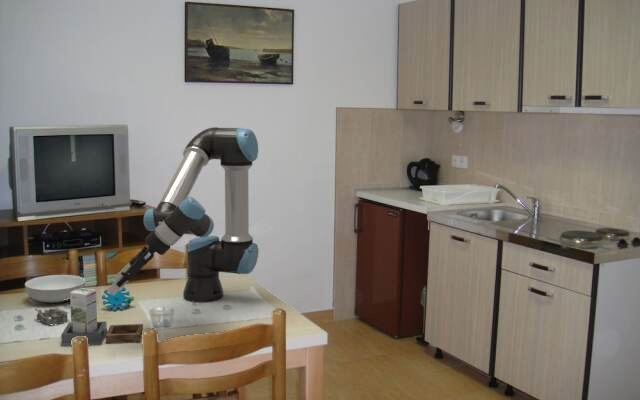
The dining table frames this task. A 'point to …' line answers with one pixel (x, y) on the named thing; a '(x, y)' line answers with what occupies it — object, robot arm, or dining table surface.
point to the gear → (117, 299)
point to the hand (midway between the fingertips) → (113, 286)
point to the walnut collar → (116, 337)
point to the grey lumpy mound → (52, 316)
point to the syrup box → (83, 310)
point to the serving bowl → (53, 287)
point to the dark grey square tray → (93, 337)
